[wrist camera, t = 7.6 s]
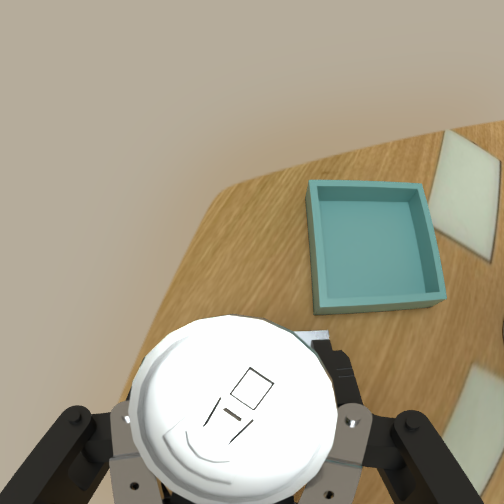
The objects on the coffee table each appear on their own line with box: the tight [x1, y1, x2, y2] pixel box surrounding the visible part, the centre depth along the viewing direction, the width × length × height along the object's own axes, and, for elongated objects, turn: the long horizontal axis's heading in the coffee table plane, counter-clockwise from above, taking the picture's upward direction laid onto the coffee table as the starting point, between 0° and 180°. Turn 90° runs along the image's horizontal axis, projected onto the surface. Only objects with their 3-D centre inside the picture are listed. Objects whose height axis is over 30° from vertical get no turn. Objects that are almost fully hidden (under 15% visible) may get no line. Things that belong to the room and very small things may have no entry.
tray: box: [305, 180, 447, 315], centre depth 33 cm, size 14×14×4 cm
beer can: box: [128, 314, 338, 504], centre depth 12 cm, size 5×5×12 cm
